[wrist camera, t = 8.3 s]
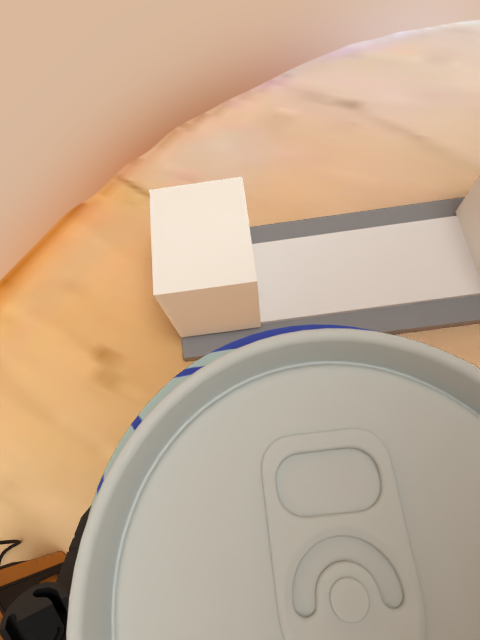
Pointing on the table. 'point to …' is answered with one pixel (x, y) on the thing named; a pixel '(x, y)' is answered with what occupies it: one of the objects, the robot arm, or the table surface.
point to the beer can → (292, 498)
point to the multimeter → (26, 575)
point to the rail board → (310, 266)
